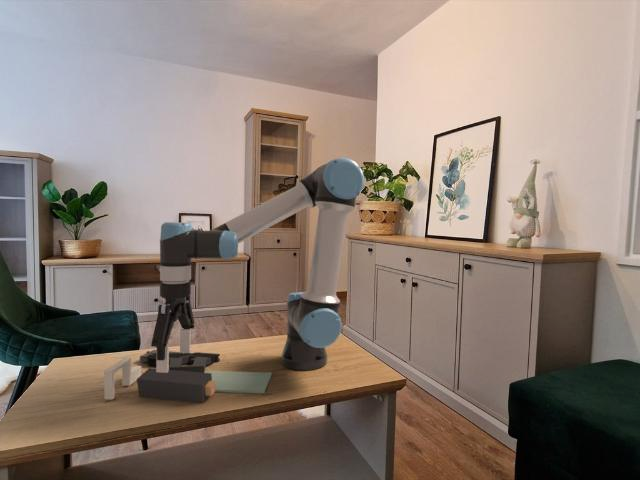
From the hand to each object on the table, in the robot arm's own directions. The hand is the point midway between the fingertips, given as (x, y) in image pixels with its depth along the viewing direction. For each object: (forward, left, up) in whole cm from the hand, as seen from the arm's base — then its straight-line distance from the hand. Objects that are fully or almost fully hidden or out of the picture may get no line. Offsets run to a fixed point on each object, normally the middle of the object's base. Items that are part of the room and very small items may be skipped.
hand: (174, 361), depth 95 cm
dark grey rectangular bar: (0, 0, -9) cm, 9 cm away
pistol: (+9, -18, -9) cm, 22 cm away
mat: (-10, -8, -9) cm, 16 cm away
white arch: (+15, -3, -8) cm, 18 cm away
